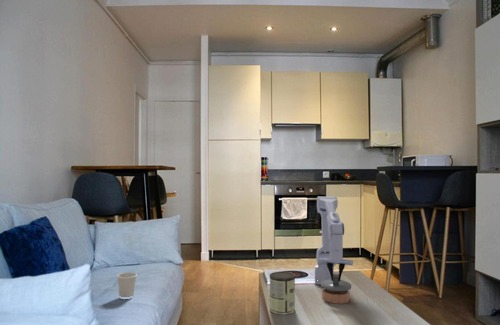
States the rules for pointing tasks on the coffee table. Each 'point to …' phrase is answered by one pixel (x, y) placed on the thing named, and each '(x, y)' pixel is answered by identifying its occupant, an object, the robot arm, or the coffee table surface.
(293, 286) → the coffee can
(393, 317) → the coffee table surface
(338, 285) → the lid
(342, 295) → the bowl
